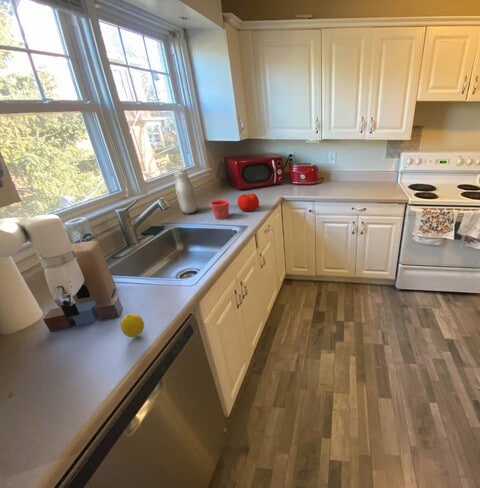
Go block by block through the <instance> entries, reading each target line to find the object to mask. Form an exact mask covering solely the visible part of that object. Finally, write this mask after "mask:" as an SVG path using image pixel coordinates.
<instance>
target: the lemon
mask: <svg viewBox="0 0 480 488" xmlns="http://www.w3.org/2000/svg"><path fill="white" fill-rule="evenodd" d="M120 330H121V332H122V333H123V335H125V336H126V337H129V338H134V337H138V336H139V335H141V334H142V333H143V331H144V330H145V322H144V320H143V318H142V317H141V316H140V315H139V314H138V313H128V314H126V315H125V316H124V317H123V318H122V319H121V321H120Z"/></svg>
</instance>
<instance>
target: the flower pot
mask: <svg viewBox="0 0 480 488" xmlns="http://www.w3.org/2000/svg"><path fill="white" fill-rule="evenodd" d="M209 206H210V208H211V209H212V213H213V216H214V218H215V219H216V220H225V219H227V218H229V214H230V213H229V211H230V210H229V209H230V202H229V201H228V200H226V199H218V200H213V201H211V202H210V205H209Z"/></svg>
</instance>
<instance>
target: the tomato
mask: <svg viewBox="0 0 480 488" xmlns="http://www.w3.org/2000/svg"><path fill="white" fill-rule="evenodd" d="M237 206H238V209H240V211H243V212H251V211H256V210H257V209H258V208H259V207H260V200H259V197H258V196H257V194H256V193H253V192H251V193H249V194H246V193H243V194H241V195H239V196H238V198H237Z"/></svg>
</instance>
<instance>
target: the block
mask: <svg viewBox="0 0 480 488" xmlns="http://www.w3.org/2000/svg"><path fill="white" fill-rule="evenodd" d="M71 245H72V248H73V250H74V253H75V255H76V258H77V259H76V261H77V263H78V265H79V267H80V269H81V270H82V271H83V276H84V278H85V279H84V281H85V282H86V286H87V288H88V291H89V293H90V297H87V298H82V299H78V297H77V295H76V294H75V295H74V296H73V302H74V303H75V304H76V305H77V304H80V303H85V302H90V301H96V303H97V304H98V303H99V301H100V300H101V299H106V298H111V297H113V294H114V292H115V289H116V283H115V280H114V278H113V275H112V273H111V270H110V268H109V266H108V263H107V259H106V257H105V255H104V252H103V250H102V248H101V245H100V243H99V241H98V240H89V241H82V242H74V243H71Z"/></svg>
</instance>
